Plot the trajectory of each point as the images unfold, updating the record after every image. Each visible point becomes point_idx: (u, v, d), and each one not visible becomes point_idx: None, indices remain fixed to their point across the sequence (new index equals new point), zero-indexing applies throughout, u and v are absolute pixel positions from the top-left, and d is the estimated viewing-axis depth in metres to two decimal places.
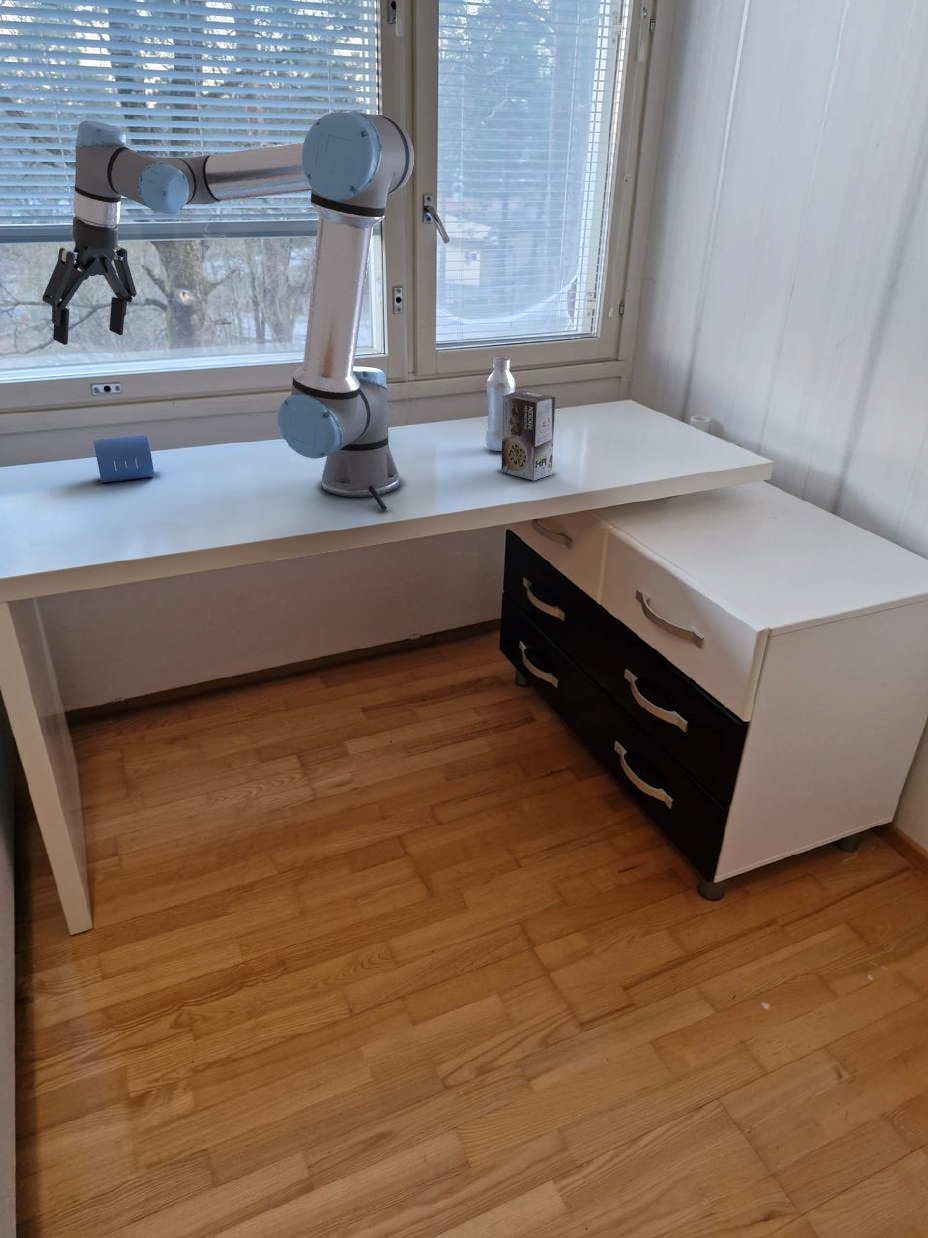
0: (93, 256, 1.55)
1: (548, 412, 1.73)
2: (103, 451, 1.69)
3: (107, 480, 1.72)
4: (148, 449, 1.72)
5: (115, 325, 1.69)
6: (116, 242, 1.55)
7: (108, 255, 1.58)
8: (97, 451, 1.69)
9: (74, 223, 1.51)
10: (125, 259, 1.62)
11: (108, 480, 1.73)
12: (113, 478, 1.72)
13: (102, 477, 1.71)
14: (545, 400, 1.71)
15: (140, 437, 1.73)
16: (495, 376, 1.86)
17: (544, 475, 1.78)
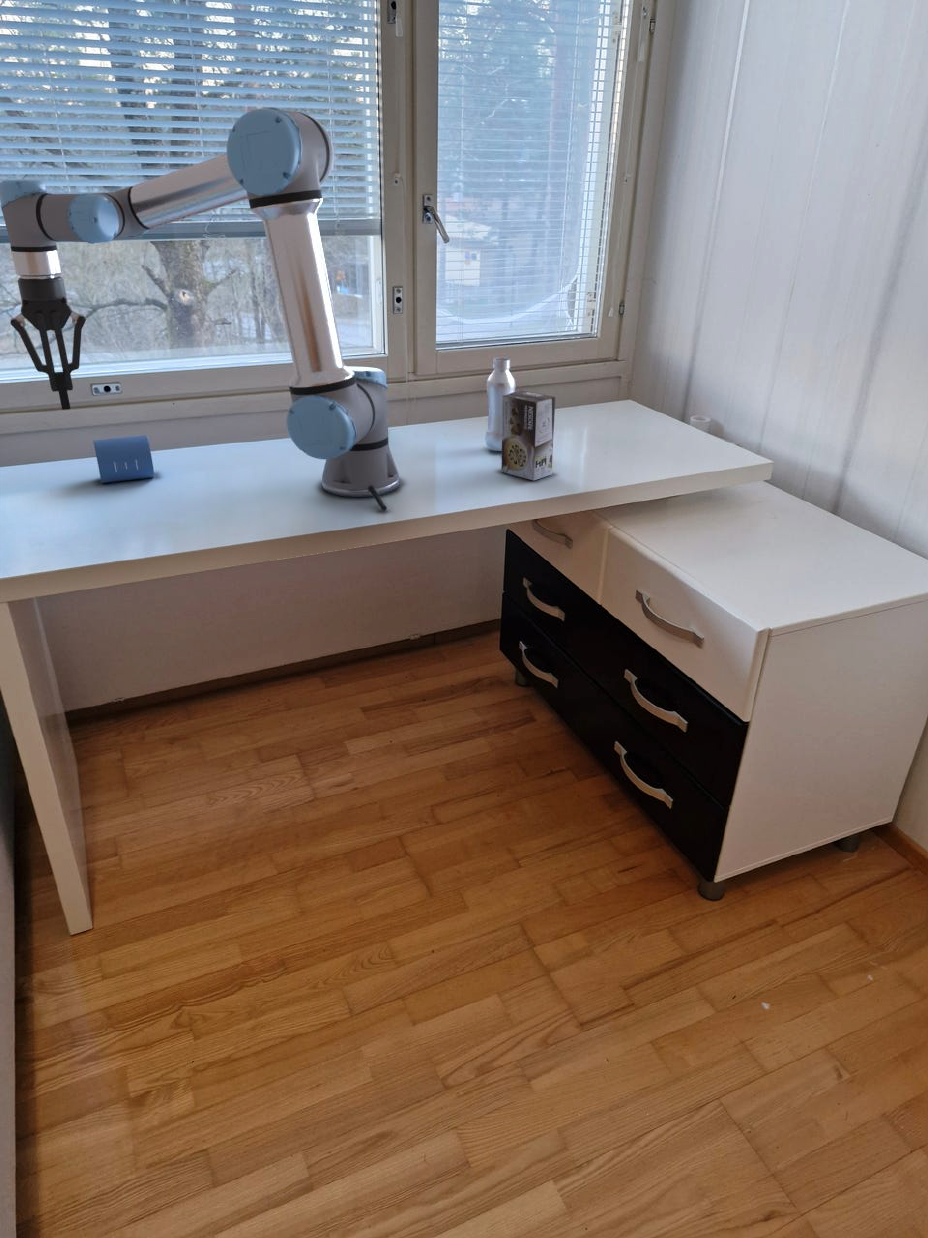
0: (36, 312, 1.57)
1: (548, 412, 1.73)
2: (103, 452, 1.69)
3: (108, 481, 1.73)
4: (148, 450, 1.72)
5: None
6: (52, 293, 1.54)
7: (60, 307, 1.58)
8: (97, 452, 1.69)
9: None
10: (79, 326, 1.60)
11: (108, 481, 1.73)
12: (114, 479, 1.72)
13: (102, 478, 1.71)
14: (545, 399, 1.71)
15: (140, 438, 1.73)
16: (495, 376, 1.86)
17: (544, 475, 1.78)
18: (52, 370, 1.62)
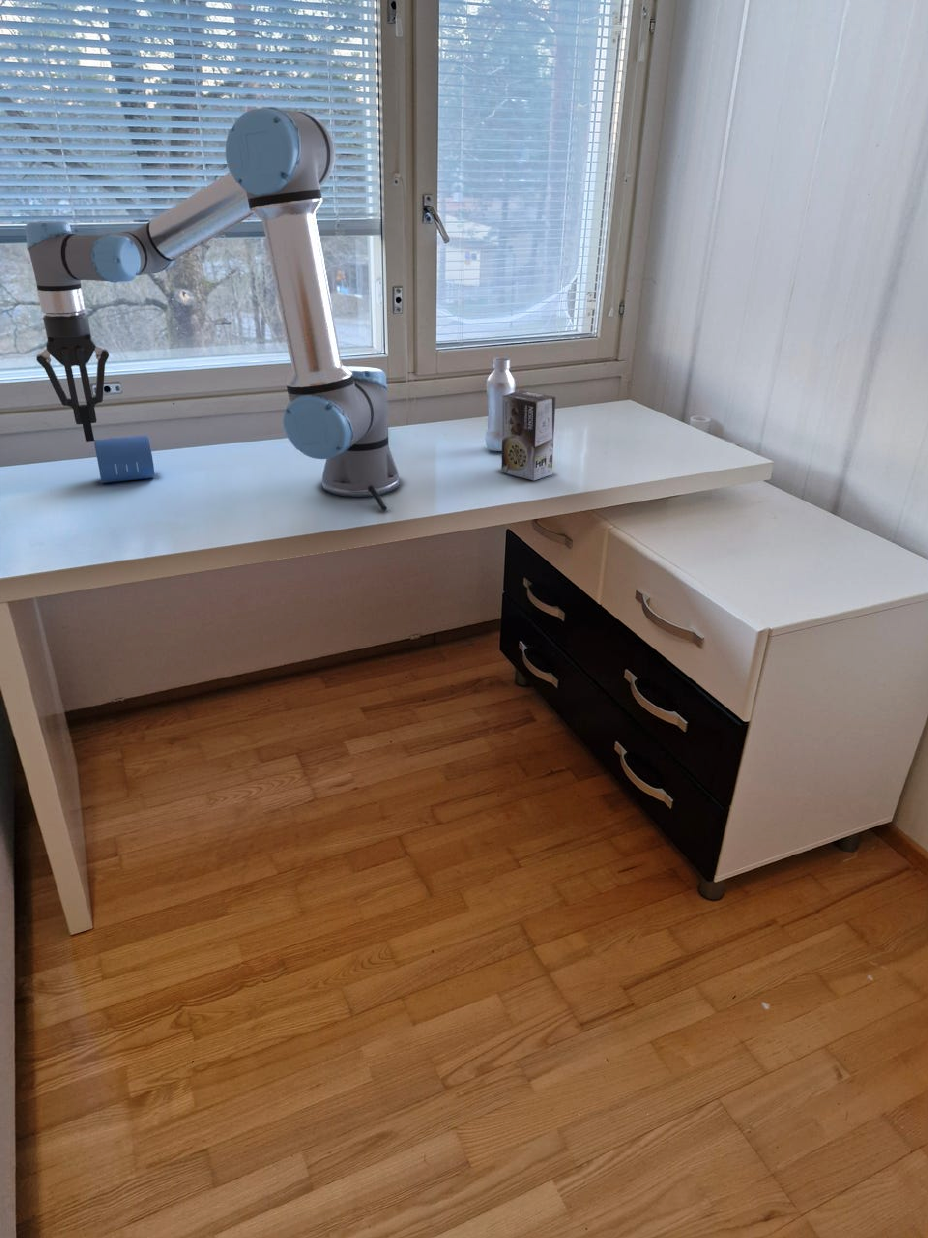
0: (61, 348, 1.60)
1: (548, 412, 1.73)
2: (104, 454, 1.69)
3: (108, 481, 1.73)
4: (149, 453, 1.72)
5: None
6: (77, 330, 1.58)
7: (84, 343, 1.62)
8: (98, 454, 1.68)
9: None
10: (103, 360, 1.64)
11: (108, 481, 1.73)
12: (114, 480, 1.72)
13: (103, 479, 1.71)
14: (545, 399, 1.71)
15: (141, 439, 1.72)
16: (495, 376, 1.86)
17: (544, 475, 1.78)
18: (76, 404, 1.65)
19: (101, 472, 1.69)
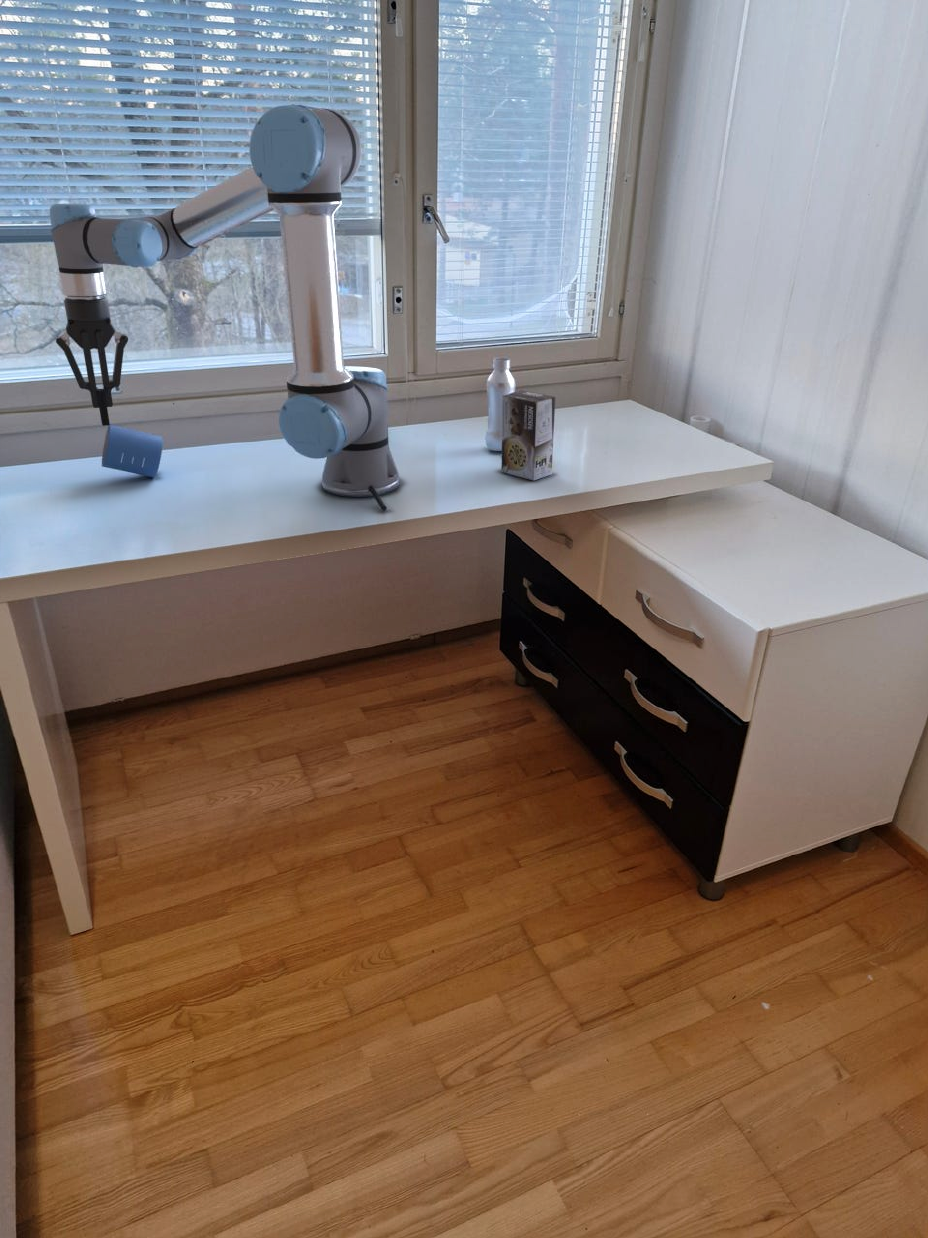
0: (80, 331, 1.61)
1: (548, 412, 1.73)
2: (115, 440, 1.69)
3: (109, 467, 1.72)
4: (159, 453, 1.73)
5: None
6: (97, 314, 1.59)
7: (104, 326, 1.62)
8: (110, 439, 1.68)
9: None
10: (122, 345, 1.64)
11: (109, 467, 1.72)
12: (115, 467, 1.72)
13: (105, 463, 1.70)
14: (545, 399, 1.71)
15: (156, 438, 1.73)
16: (495, 376, 1.86)
17: (544, 475, 1.78)
18: (94, 387, 1.66)
19: (106, 456, 1.69)
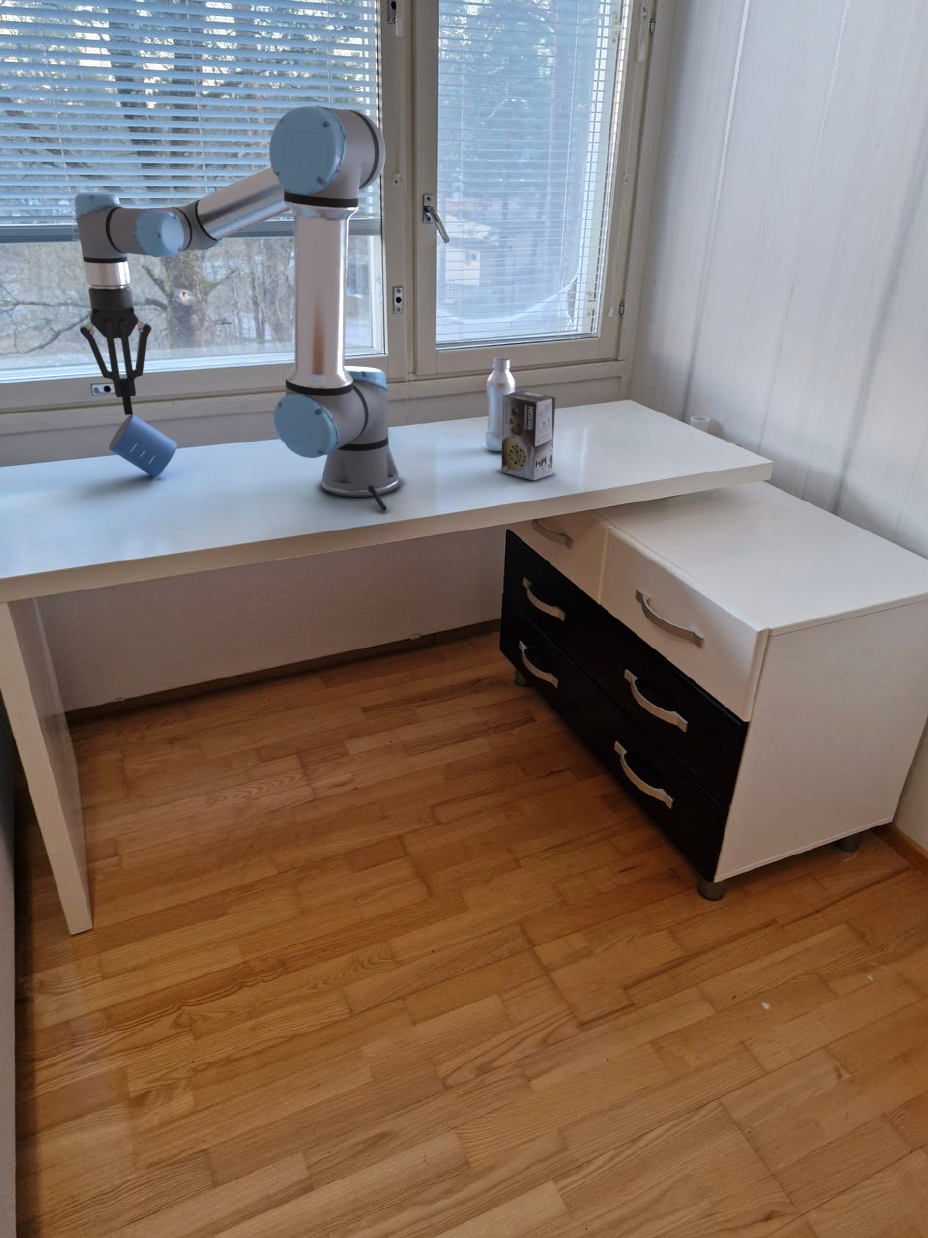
0: (104, 321, 1.62)
1: (548, 412, 1.73)
2: (134, 430, 1.69)
3: (116, 452, 1.71)
4: (170, 457, 1.74)
5: None
6: (122, 303, 1.59)
7: (128, 316, 1.63)
8: (129, 426, 1.69)
9: None
10: (145, 334, 1.65)
11: (116, 452, 1.71)
12: (122, 455, 1.71)
13: (114, 447, 1.70)
14: (545, 399, 1.71)
15: (171, 442, 1.75)
16: (495, 376, 1.86)
17: (544, 475, 1.78)
18: (117, 376, 1.67)
19: (119, 441, 1.69)
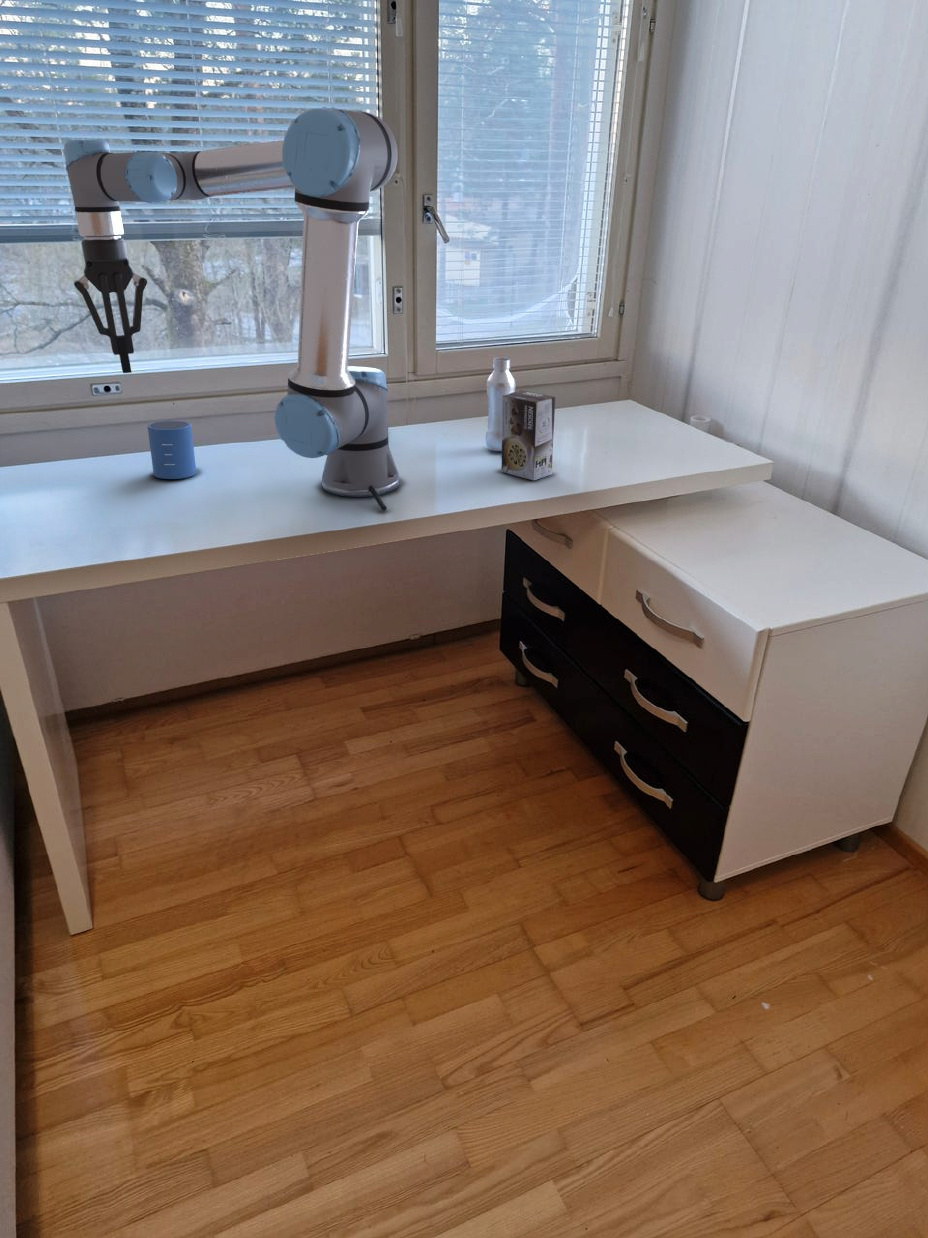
0: (99, 274, 1.57)
1: (548, 412, 1.73)
2: (181, 435, 1.73)
3: (150, 433, 1.72)
4: (183, 476, 1.76)
5: None
6: (116, 254, 1.55)
7: (123, 268, 1.58)
8: (181, 429, 1.72)
9: None
10: (141, 288, 1.61)
11: (150, 434, 1.73)
12: (152, 440, 1.73)
13: (154, 430, 1.71)
14: (545, 399, 1.71)
15: (194, 468, 1.78)
16: (495, 376, 1.86)
17: (544, 475, 1.78)
18: (114, 333, 1.62)
19: (163, 430, 1.71)
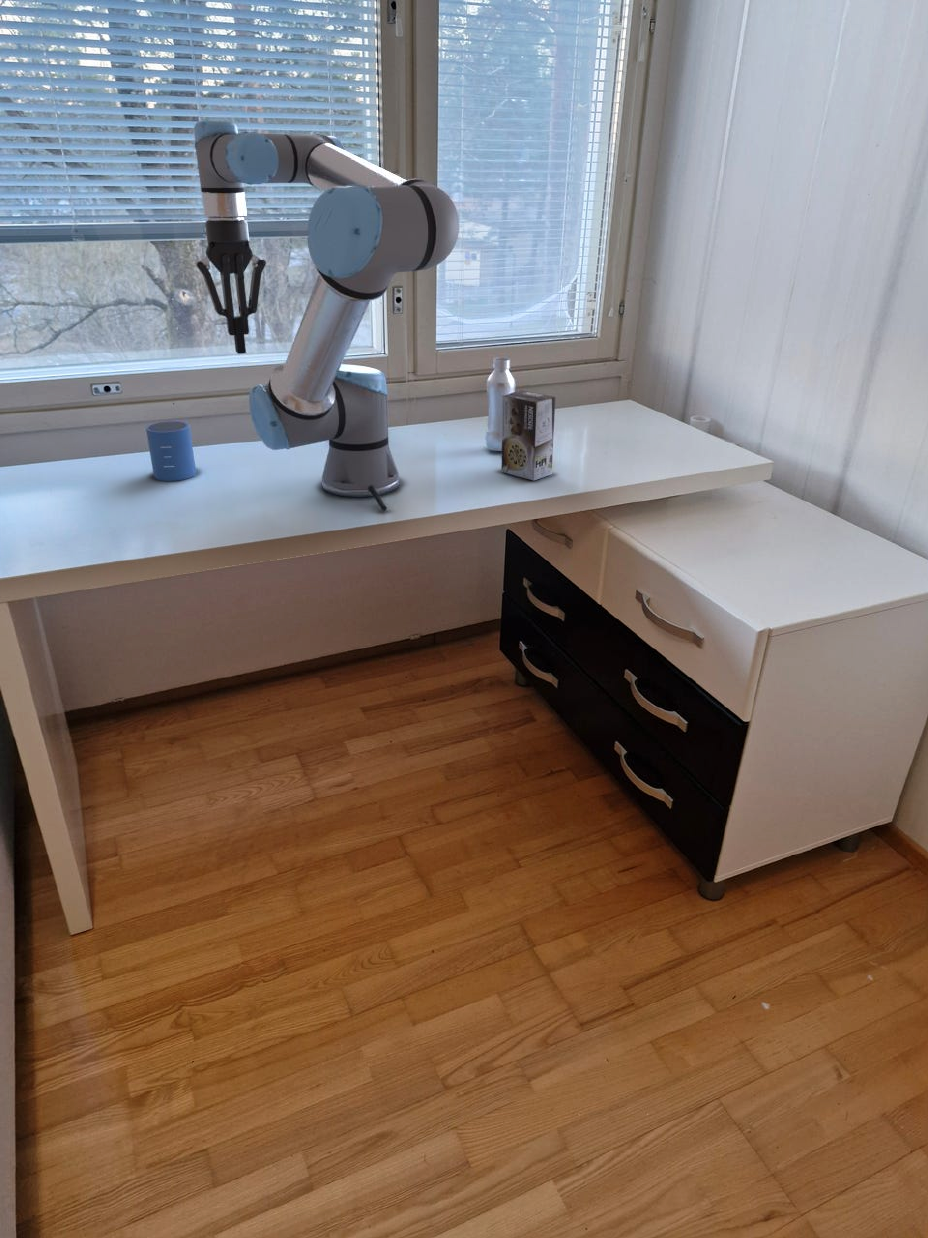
0: (221, 255, 1.59)
1: (548, 412, 1.73)
2: (179, 437, 1.72)
3: (149, 436, 1.72)
4: (183, 478, 1.76)
5: None
6: (239, 235, 1.57)
7: (243, 250, 1.60)
8: (179, 431, 1.72)
9: None
10: (260, 269, 1.63)
11: (149, 436, 1.72)
12: (151, 442, 1.72)
13: (152, 433, 1.71)
14: (545, 399, 1.71)
15: (194, 468, 1.78)
16: (495, 376, 1.86)
17: (544, 475, 1.78)
18: (232, 313, 1.64)
19: (161, 433, 1.71)
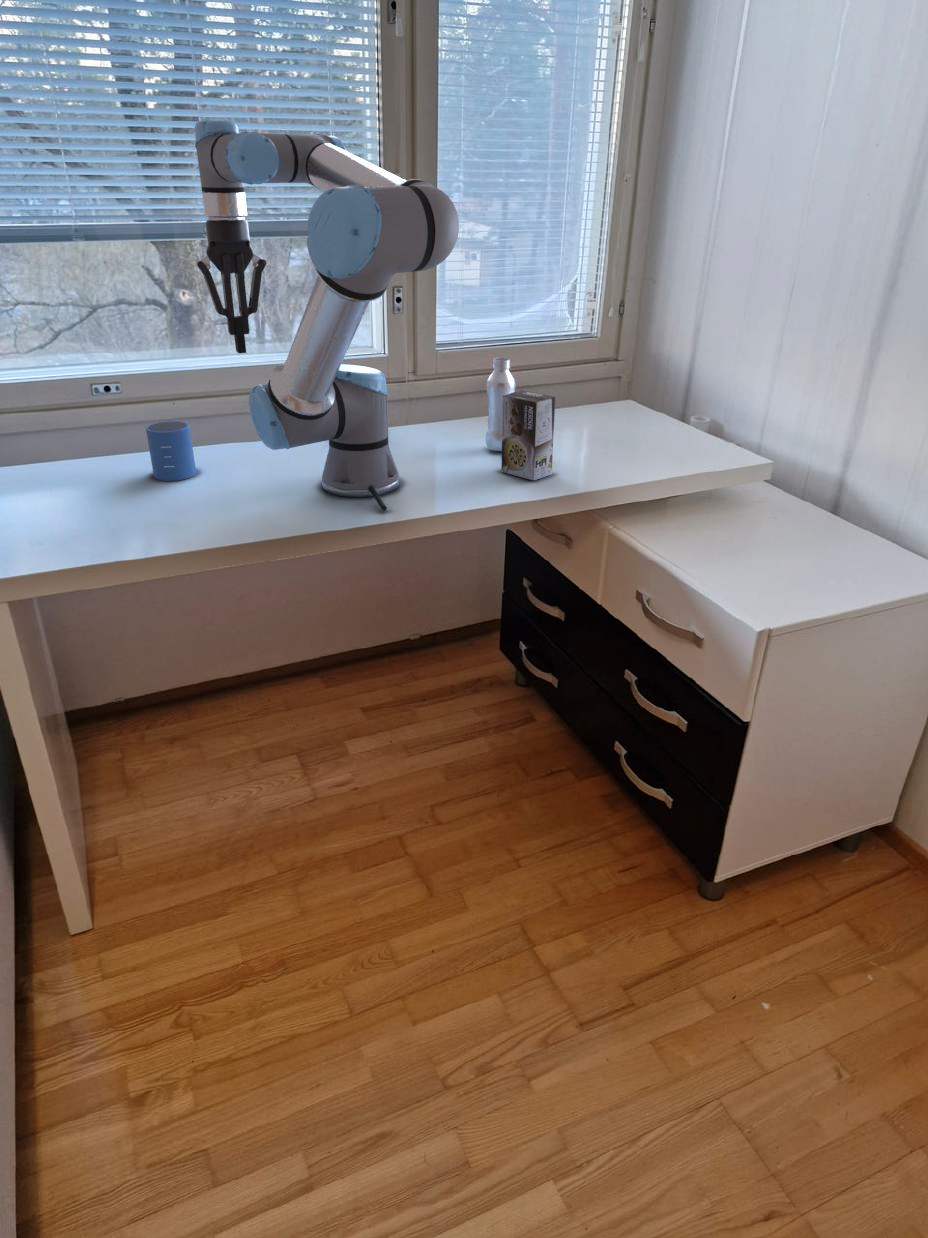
0: (221, 254, 1.59)
1: (548, 412, 1.73)
2: (179, 437, 1.72)
3: (149, 436, 1.72)
4: (183, 478, 1.76)
5: None
6: (240, 235, 1.57)
7: (244, 249, 1.60)
8: (179, 431, 1.72)
9: None
10: (260, 269, 1.63)
11: (149, 436, 1.72)
12: (151, 442, 1.72)
13: (152, 433, 1.71)
14: (545, 399, 1.71)
15: (194, 468, 1.78)
16: (495, 376, 1.86)
17: (544, 475, 1.78)
18: (232, 313, 1.64)
19: (161, 433, 1.71)
